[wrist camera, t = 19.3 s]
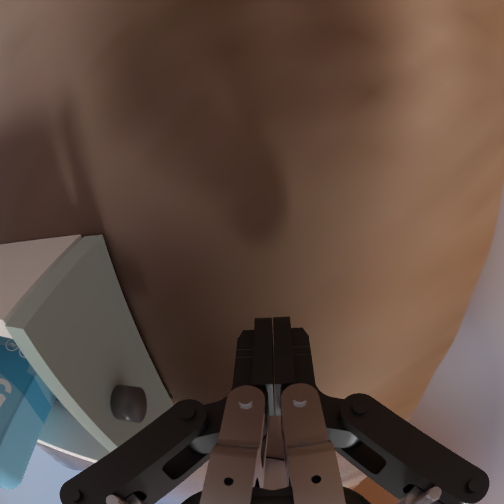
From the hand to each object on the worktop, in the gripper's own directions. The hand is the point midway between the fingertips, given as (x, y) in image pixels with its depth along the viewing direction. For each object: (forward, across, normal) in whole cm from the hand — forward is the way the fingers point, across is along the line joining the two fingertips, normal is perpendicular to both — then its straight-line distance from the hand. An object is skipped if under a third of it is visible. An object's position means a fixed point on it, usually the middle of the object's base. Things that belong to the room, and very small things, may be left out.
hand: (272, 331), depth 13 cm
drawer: (+3, +19, +3) cm, 19 cm away
